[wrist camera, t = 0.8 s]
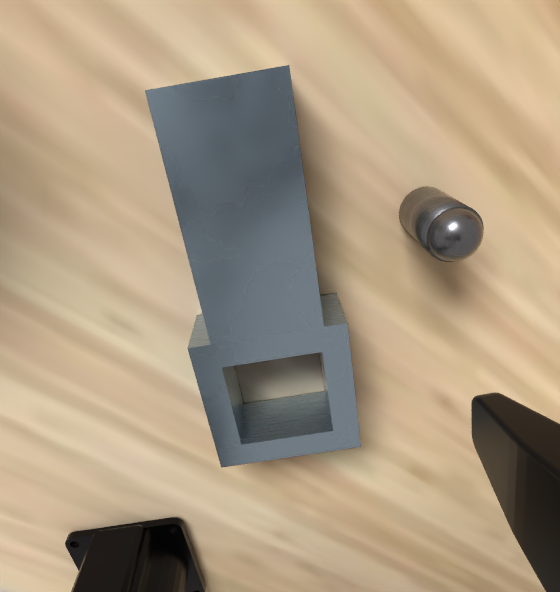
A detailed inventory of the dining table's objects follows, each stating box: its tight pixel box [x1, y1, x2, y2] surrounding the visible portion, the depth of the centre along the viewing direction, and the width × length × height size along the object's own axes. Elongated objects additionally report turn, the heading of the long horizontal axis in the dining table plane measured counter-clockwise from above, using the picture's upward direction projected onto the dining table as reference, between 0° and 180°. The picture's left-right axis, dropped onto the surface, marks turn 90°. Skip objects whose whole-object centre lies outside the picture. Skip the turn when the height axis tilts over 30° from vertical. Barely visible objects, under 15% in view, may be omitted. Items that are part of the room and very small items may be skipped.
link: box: [145, 65, 361, 467], centre depth 18 cm, size 15×6×3 cm, turn 9°
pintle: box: [399, 187, 483, 262], centre depth 17 cm, size 2×2×4 cm
